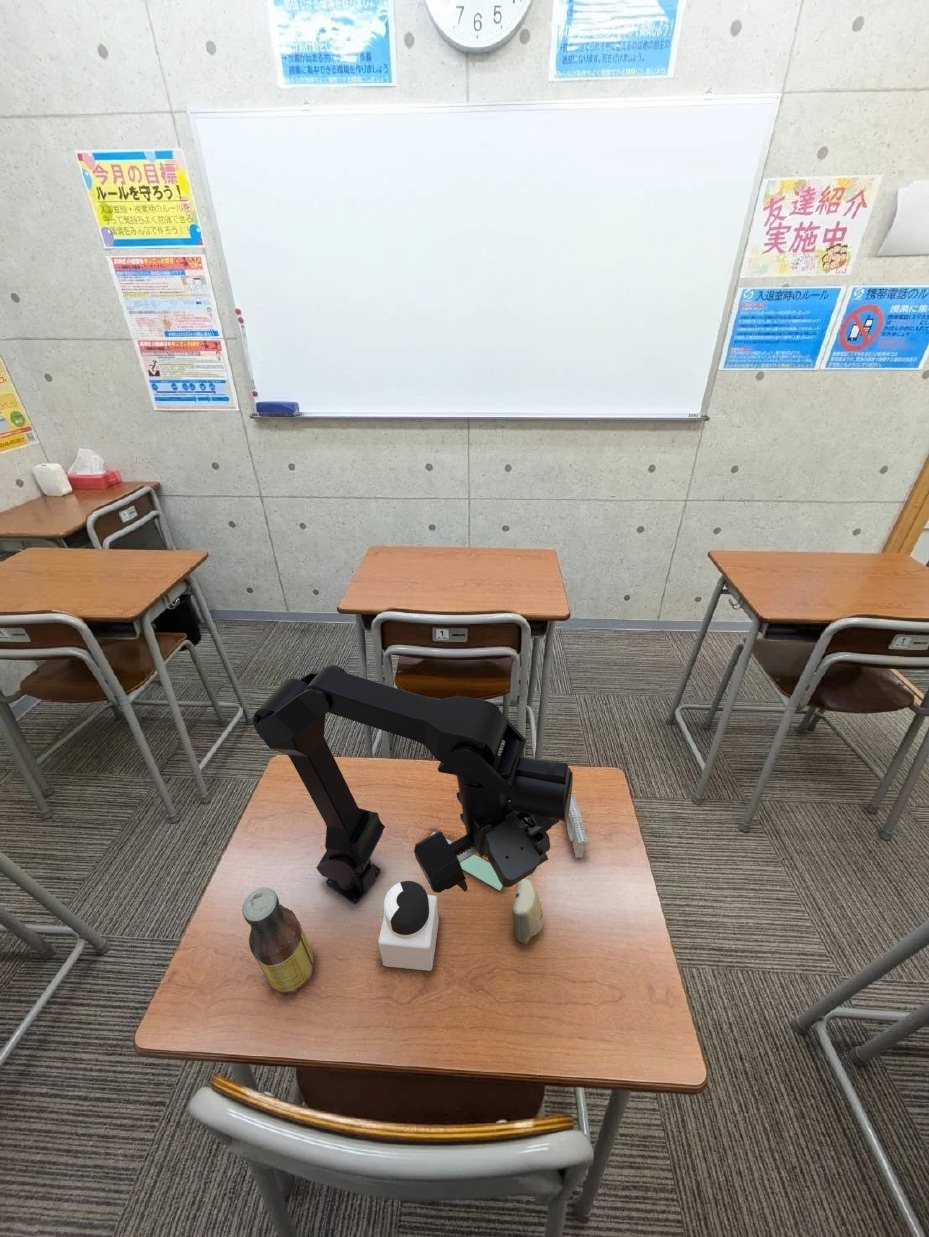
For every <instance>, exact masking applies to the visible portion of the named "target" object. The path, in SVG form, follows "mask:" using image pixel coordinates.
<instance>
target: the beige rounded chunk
mask: <svg viewBox="0 0 929 1237" xmlns="http://www.w3.org/2000/svg"><path fill="white" fill-rule="evenodd" d="M541 902H542V901H541V900H540V897H539V894H538V891H537V890H536V887H535V885H534V883H533V881H532V880H531V879H530V878H529V877H526V878H524V879H522V880H521V881H519V882H518V883H517V885H516V892H515V896H514V900H513V906H512V919H513V928H514V938H515V939H516V941H517V942H518V943H519V944H520V945H521V944H522V945H528V944H529V943H530V941H531V939H532V938H533V937H534V936H536V935H537V934H538V933H540V931H541V930H542V927H543V925H544V923H545V921H544V920H545V915H544V911H543V907H542V903H541Z"/></svg>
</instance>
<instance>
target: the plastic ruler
mask: <svg viewBox="0 0 929 1237" xmlns="http://www.w3.org/2000/svg"><path fill="white" fill-rule="evenodd" d="M435 833H436V832H435V831H433V832H432V833H431V834H430V836H431V835H433V834H435ZM446 840H447V842H448V843H449V844H451V843H453V842H454V841H451V840H449V839H448V838H446ZM460 865H461V867H462V870H463V872H466V873H468V874H469V875H471V876H472V877H474V878H476V879H477V880H479V881H481V882H482V883H485V884H486V885H488V886H490V887H492V888H493V889H494V890H496V891H498V892H501V890H502V889H503V887H504V886H503V885H502V884H501V883H500V881H499V879H498V877H497V875H496V873H495V871H494V869H493V868H492V866H491V864H490V862H489V861H488V860H485V859H483V858H482V857H481V856H478V855H476V854H474V855H473V856H471V857H469V858H467V859H466V860H464V861H462V862H460Z"/></svg>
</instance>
